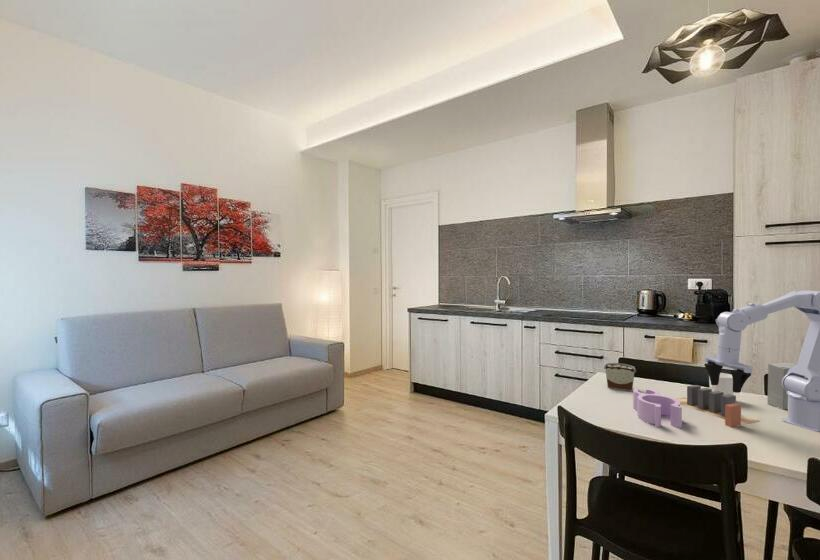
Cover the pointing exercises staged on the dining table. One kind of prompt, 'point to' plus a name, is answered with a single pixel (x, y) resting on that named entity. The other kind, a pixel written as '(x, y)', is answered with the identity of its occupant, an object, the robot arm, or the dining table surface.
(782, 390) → the skincare box
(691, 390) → the domino
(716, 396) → the domino
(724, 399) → the domino
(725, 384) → the white cup
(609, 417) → the dining table surface
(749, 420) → the cork strip
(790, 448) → the dining table surface
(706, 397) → the domino
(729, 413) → the rust domino
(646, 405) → the clip
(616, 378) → the food container
